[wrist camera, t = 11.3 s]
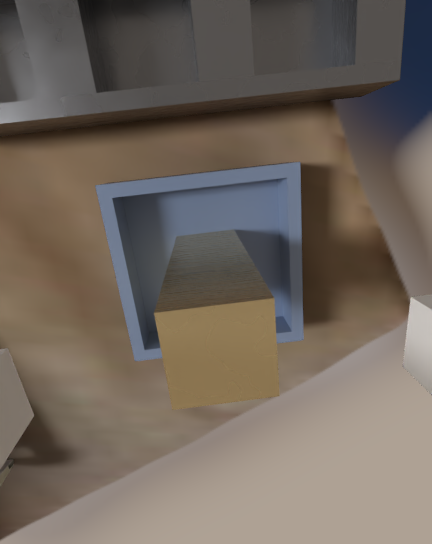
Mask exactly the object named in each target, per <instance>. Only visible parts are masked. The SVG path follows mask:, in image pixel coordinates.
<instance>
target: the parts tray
mask: <svg viewBox="0 0 432 544" xmlns="http://www.w3.org/2000/svg"><path fill="white" fill-rule="evenodd" d="M95 187H96V191H97V196H98V200H99V204H100V209H101V213H102V218H103V222H104V226H105V231H106V235H107V240H108V244H109V248H110V253H111V257H112V262H113V266H114V270H115V275H116V279H117V284H118V288H119V292H120V297H121V301H122V306H123V310H124V314H125V319H126V323H127V328H128V332H129V336H130V341H131V345H132V350H133V354H134V359H135V361H141V360H149V359H157V358H162V352H161V347H160V342H159V337H158V331H157V326H156V321H155V316H154V311H155V308H156V304H157V301H158V298H159V294H160V291H161V288H162V284H163V281H164V277H165V274H166V271H167V267H168V264H169V261H170V257H171V254H172V250H173V247H174V244H175V240H176V237H177V236H182V235H191V234H199V233H207V232H216V231H224V230H233V229H234V231H235V232H236V234H237V236H238V237H239V239H240V241H241V242H242V244H243V246H244V248H245V249H246V251H247V253H248V254H249V256H250V258H251V259H252V261H253V263H254V264H255V266H256V268H257V270H258V271H259V273H260V275H261V276H262V278H263V280H264V281H265V283H266V285H267V286H268V288H269V290H270V292H271V293H272V295H273V297H274V300H275V319H276V339H277V343H284V342H292V341H300V340H303V283H302V226H301V170H300V162H290V163H279V164H271V165H262V166H253V167H244V168H236V169H227V170H218V171H209V172H201V173H192V174H183V175H174V176H166V177H157V178H148V179H139V180H131V181H122V182H113V183H106V184H100V185H95Z"/></svg>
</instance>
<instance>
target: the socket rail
mask: <svg viewBox="0 0 432 544" xmlns="http://www.w3.org/2000/svg"><path fill="white" fill-rule="evenodd" d="M405 5H406V0H0V136H9V135H18V134H27V133H36V132H45V131H54V130H63V129H72V128H81V127H90V126H100V125H109V124H118V123H127V122H136V121H145V120H154V119H163V118H172V117H181V116H190V115H199V114H208V113H217V112H226V111H235V110H244V109H253V108H262V107H271V106H280V105H289V104H298V103H307V102H317V101H326V100H335V99H344V98H353V97H361V96H364V95H366V94H368V93H371V92H373V91H375V90H378V89H380V88H382V87H385V86H387V85H389V84H391V83H394V82H396V81H399V80H400V72H401V58H402V45H403V32H404V19H405Z"/></svg>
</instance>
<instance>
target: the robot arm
mask: <svg viewBox="0 0 432 544" xmlns="http://www.w3.org/2000/svg"><path fill="white" fill-rule="evenodd" d="M403 367H404V368H405V369H406V370H407V371H408V372H409V373H410V374H411V375H412V376H413V377H414V378H415V379H416V380H417V381H418V382H419V383H420V384H421V385H422V386H423V387H424V388H425V389H426V390H427V391H428V392H429V393H430V394H431V395H432V294H430V295H422V296H414V297H411V300H410V309H409V317H408V326H407V334H406V342H405V350H404V359H403ZM33 417H34V413H33V411H32V408H31V406H30V403H29V401H28V398H27V396H26V393H25V391H24V388H23V385H22V383H21V380H20V378H19V375H18V373H17V370H16V368H15V365H14V363H13V360H12V358H11V355H10V352H9V350H8V348H5V349H0V469H1V468H2V466H3V464H4V463H5V461H6V460H7V458H8V457H9V455H10V453H11V452H12V450H13V449H14V447H15V445H16V444H17V442H18V441H19V439H20V437H21V436H22V434H23V433H24V431H25V430H26V428H27V426H28V425H29V423H30V422H31V420H32V418H33Z"/></svg>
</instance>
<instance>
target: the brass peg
mask: <svg viewBox="0 0 432 544" xmlns="http://www.w3.org/2000/svg"><path fill="white" fill-rule="evenodd" d="M154 316H155V321H156V326H157V331H158V337H159V342H160V347H161V352H162V358H163V363H164V368H165V373H166V378H167V384H168V389H169V394H170V399H171V404H172V410H176V409H183V408H191V407H199V406H206V405H214V404H222V403H230V402H237V401H245V400H253V399H260V398H268V397H276V396H279V379H278V359H277V339H276V319H275V300H274V297H273V295H272V293H271V292H270V290H269V288H268V286H267V285H266V283H265V281H264V280H263V278H262V276H261V275H260V273H259V271H258V270H257V268H256V266H255V264H254V263H253V261H252V259H251V258H250V256H249V254H248V253H247V251H246V249H245V248H244V246H243V244H242V242H241V241H240V239H239V237H238V236H237V234H236V232H235V231H234V229H233V230H224V231H216V232H207V233H199V234H191V235H182V236H177V237H176V240H175V244H174V247H173V250H172V254H171V257H170V261H169V264H168V267H167V271H166V274H165V277H164V281H163V284H162V288H161V291H160V294H159V298H158V301H157V304H156V308H155V311H154Z"/></svg>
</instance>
